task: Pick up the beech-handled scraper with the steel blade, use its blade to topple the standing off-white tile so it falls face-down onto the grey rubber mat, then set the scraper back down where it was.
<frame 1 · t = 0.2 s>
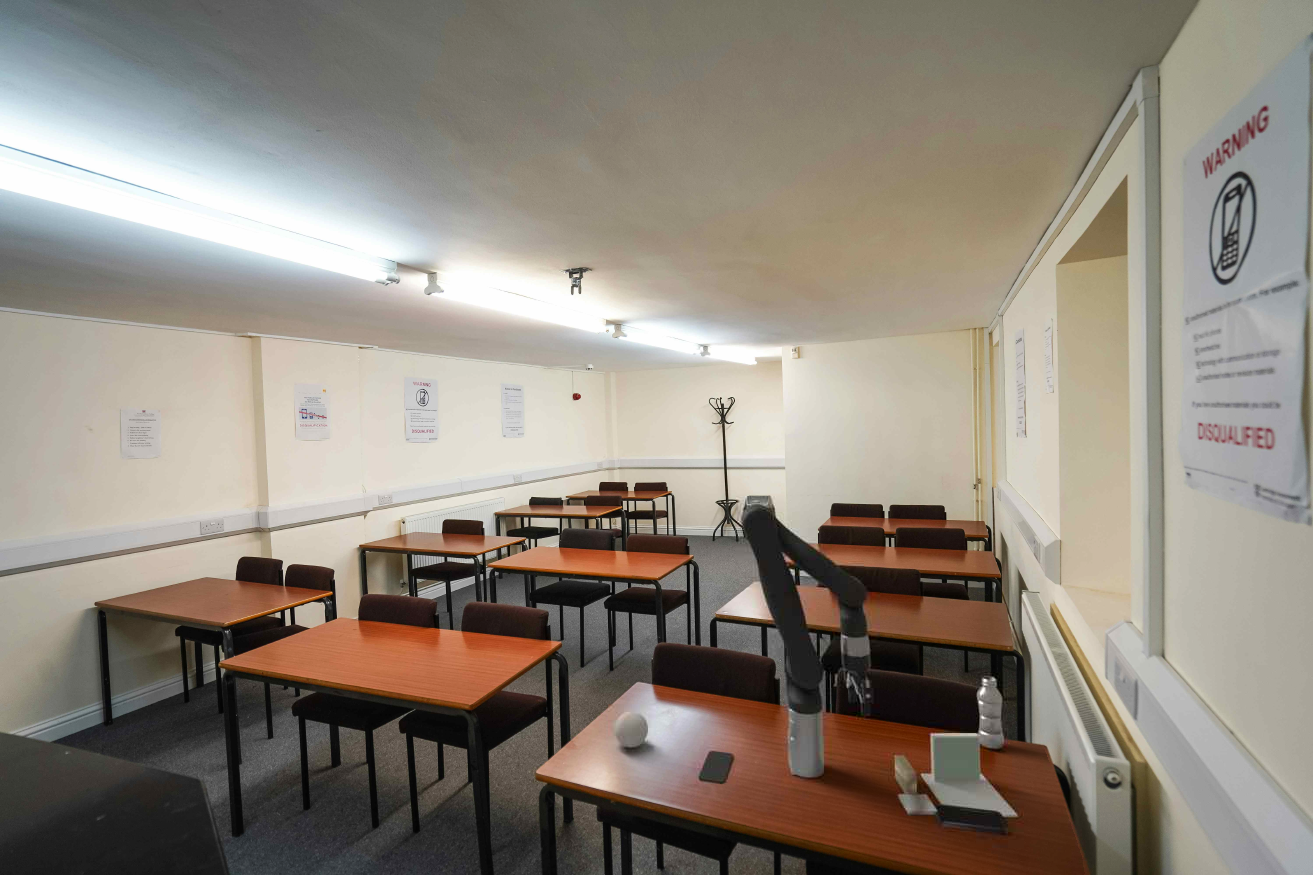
hand: (859, 708, 166), 17 cm above the table, tool pointing down, fingers open, 8 cm apart
plastic bottle: (991, 747, 177), on the table
phone: (716, 768, 170), on the table
phone 2: (970, 821, 144), on the table
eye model: (631, 746, 183), on the table
tile: (955, 779, 160), resting on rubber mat
scraper: (912, 797, 154), on the table
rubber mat: (966, 794, 154), on the table
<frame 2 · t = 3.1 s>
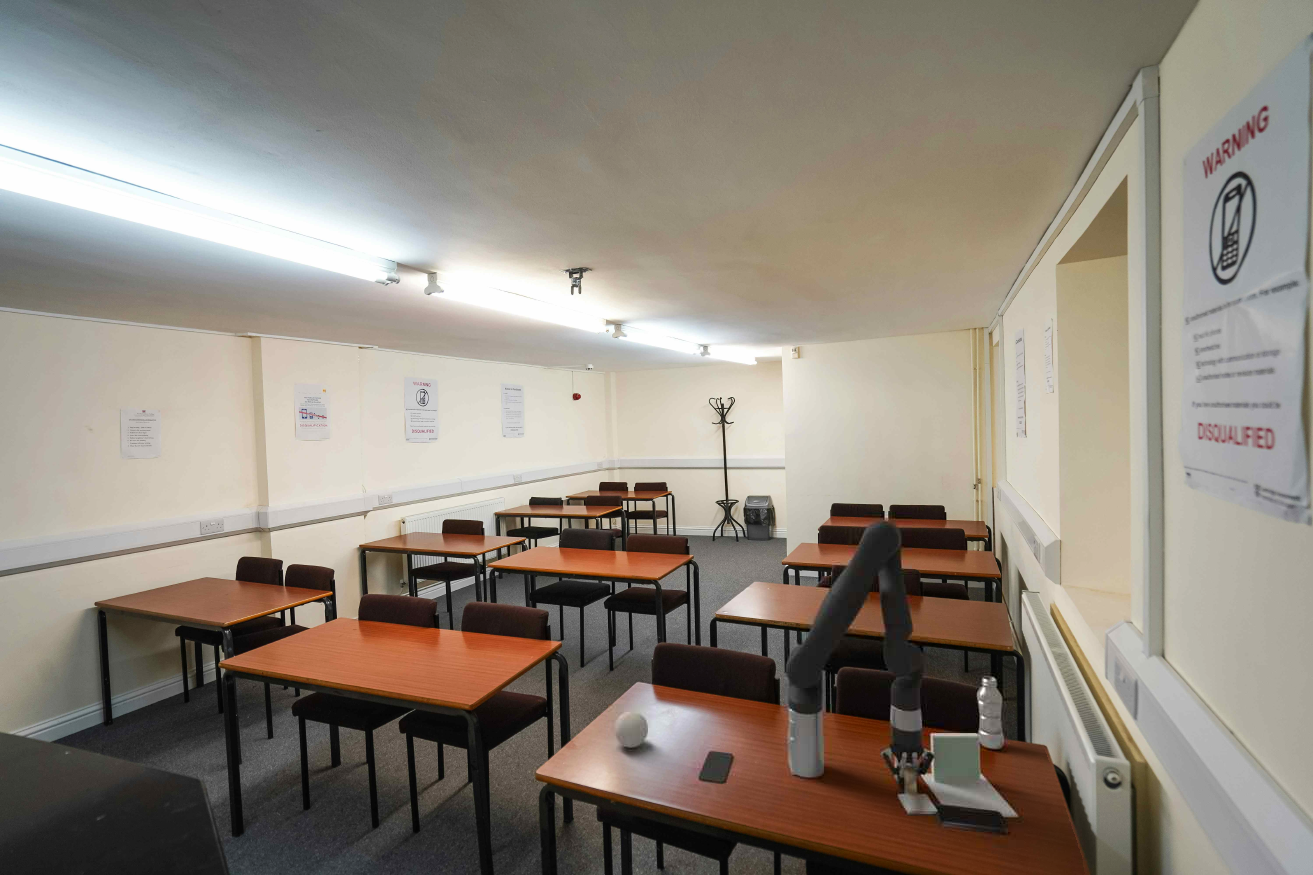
hand: (907, 788, 157), 0 cm above the table, tool pointing down, fingers closed on scraper
scraper: (912, 796, 154), on the table, touching gripper
everything else where it was.
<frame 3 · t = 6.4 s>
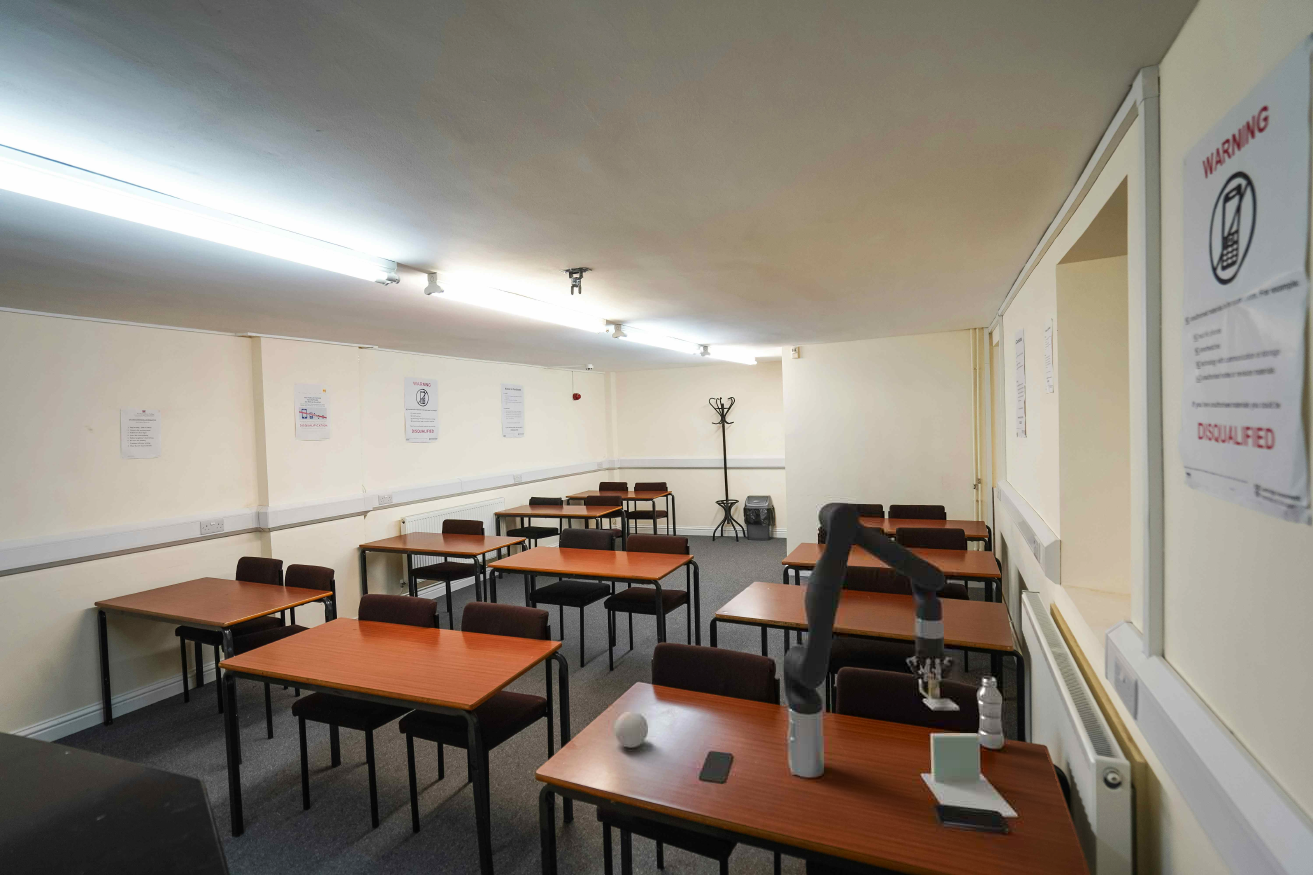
hand: (931, 692, 175), 17 cm above the table, tool pointing down, fingers closed on scraper
scraper: (935, 701, 172), point 16 cm above the table, tilted 6°, touching gripper
everything else where it was.
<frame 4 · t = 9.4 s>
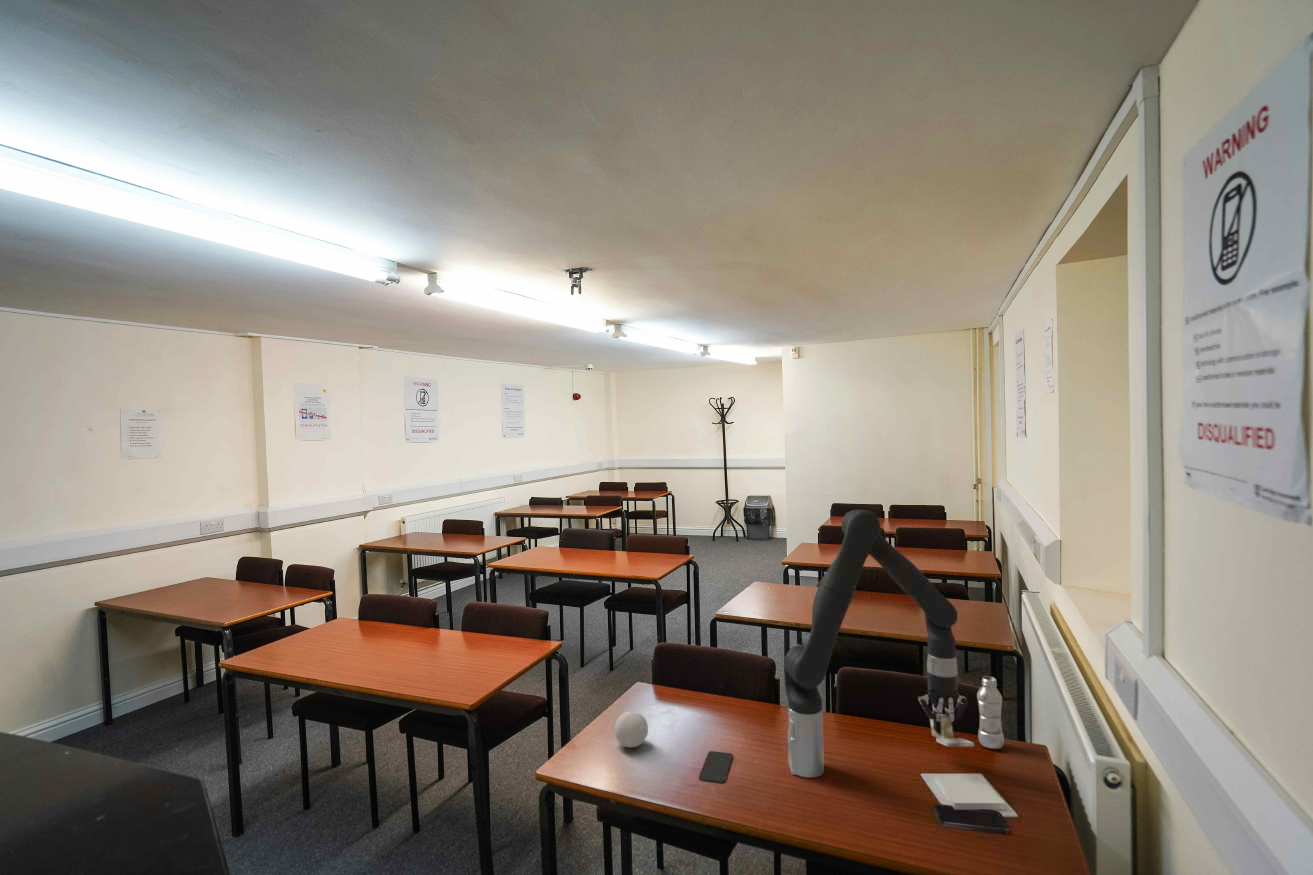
hand: (943, 732, 167), 10 cm above the table, tool pointing down, fingers closed on scraper
tile: (957, 778, 159), point 1 cm above the table, tilted 90°, touching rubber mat
scraper: (949, 741, 163), point 9 cm above the table, tilted 17°, touching gripper
everything else where it was.
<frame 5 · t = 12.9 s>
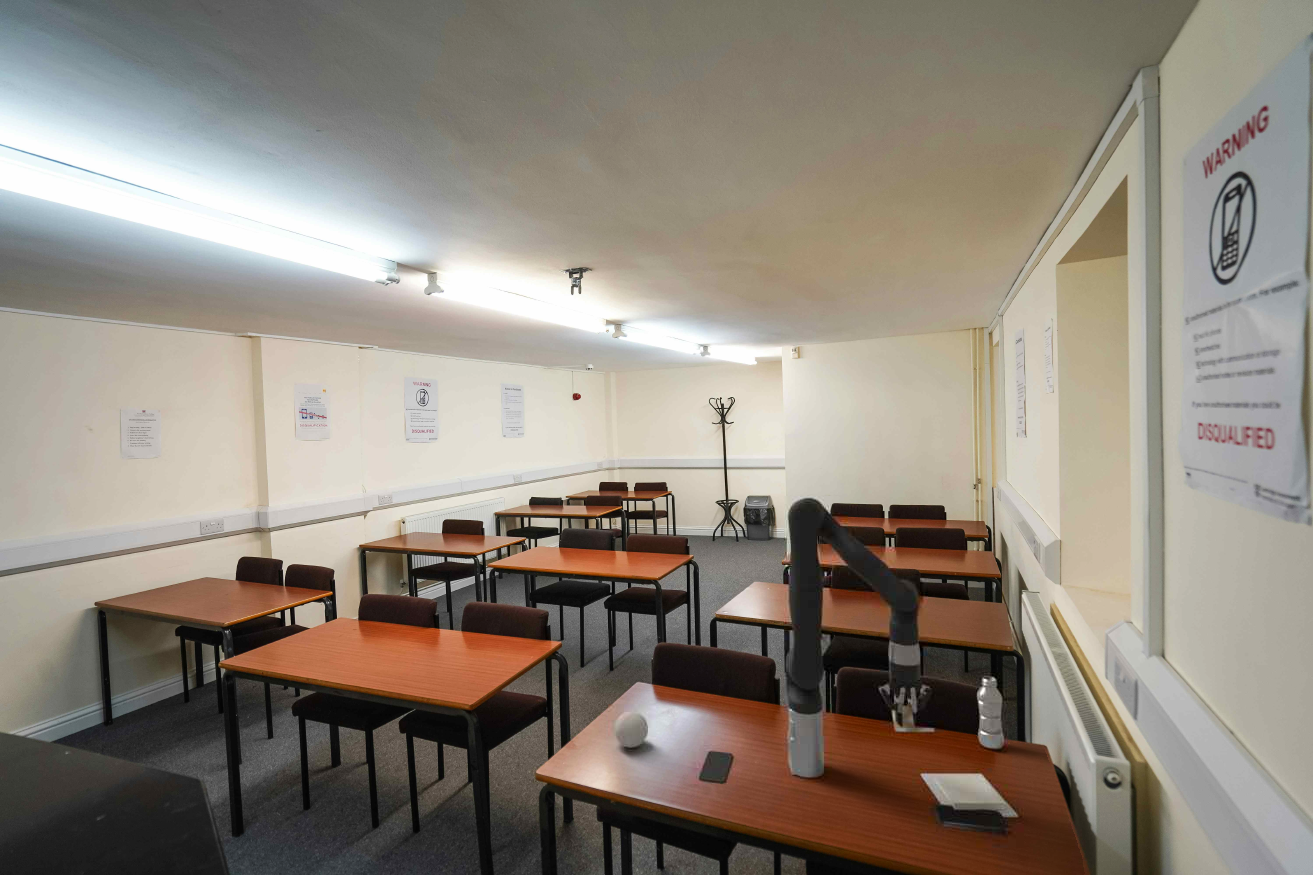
hand: (905, 724, 157), 17 cm above the table, tool pointing down, fingers closed on scraper
scraper: (910, 731, 154), point 17 cm above the table, tilted 25°, touching gripper
everything else where it was.
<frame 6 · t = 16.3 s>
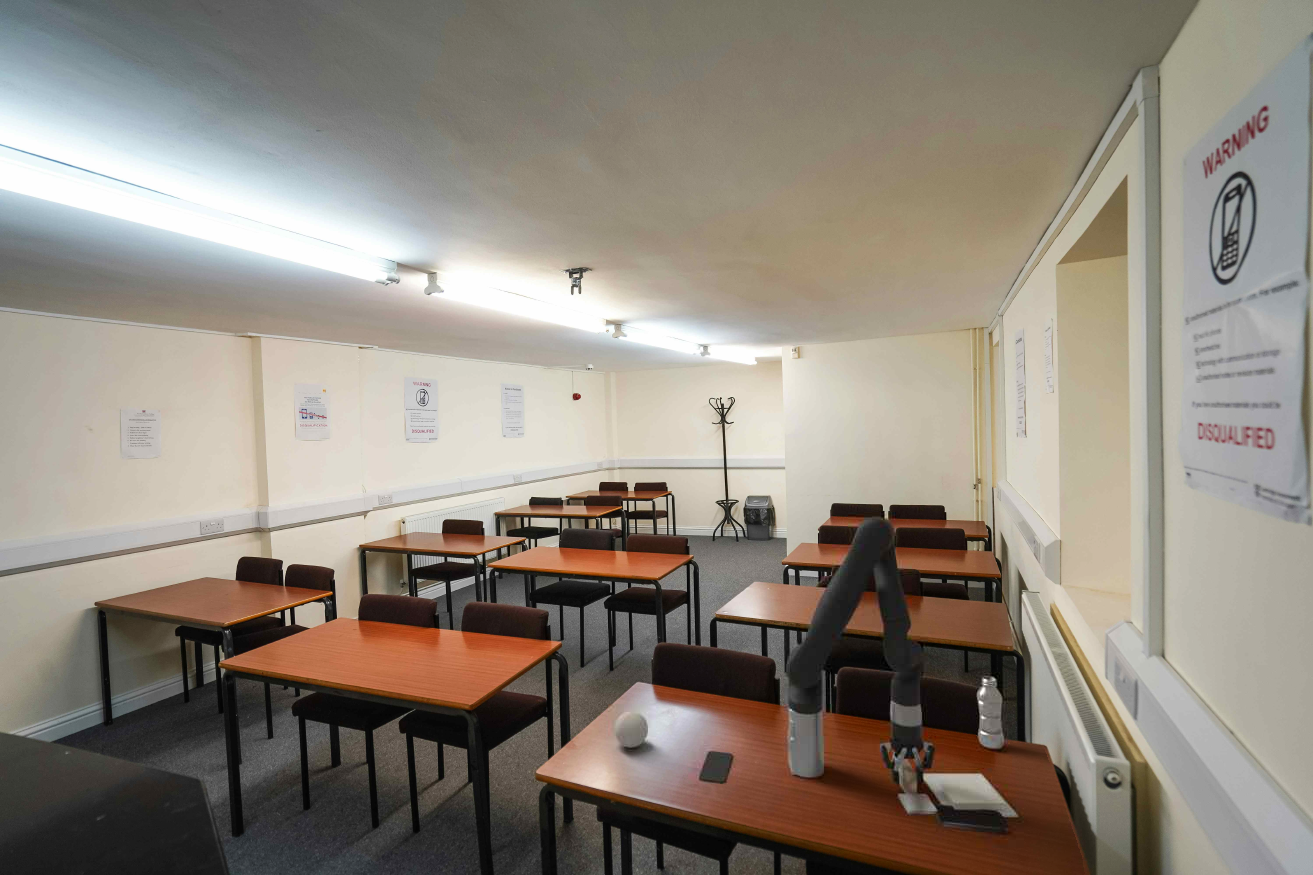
hand: (907, 783, 157), 2 cm above the table, tool pointing down, fingers open, 5 cm apart
scraper: (912, 796, 154), on the table
everything else where it was.
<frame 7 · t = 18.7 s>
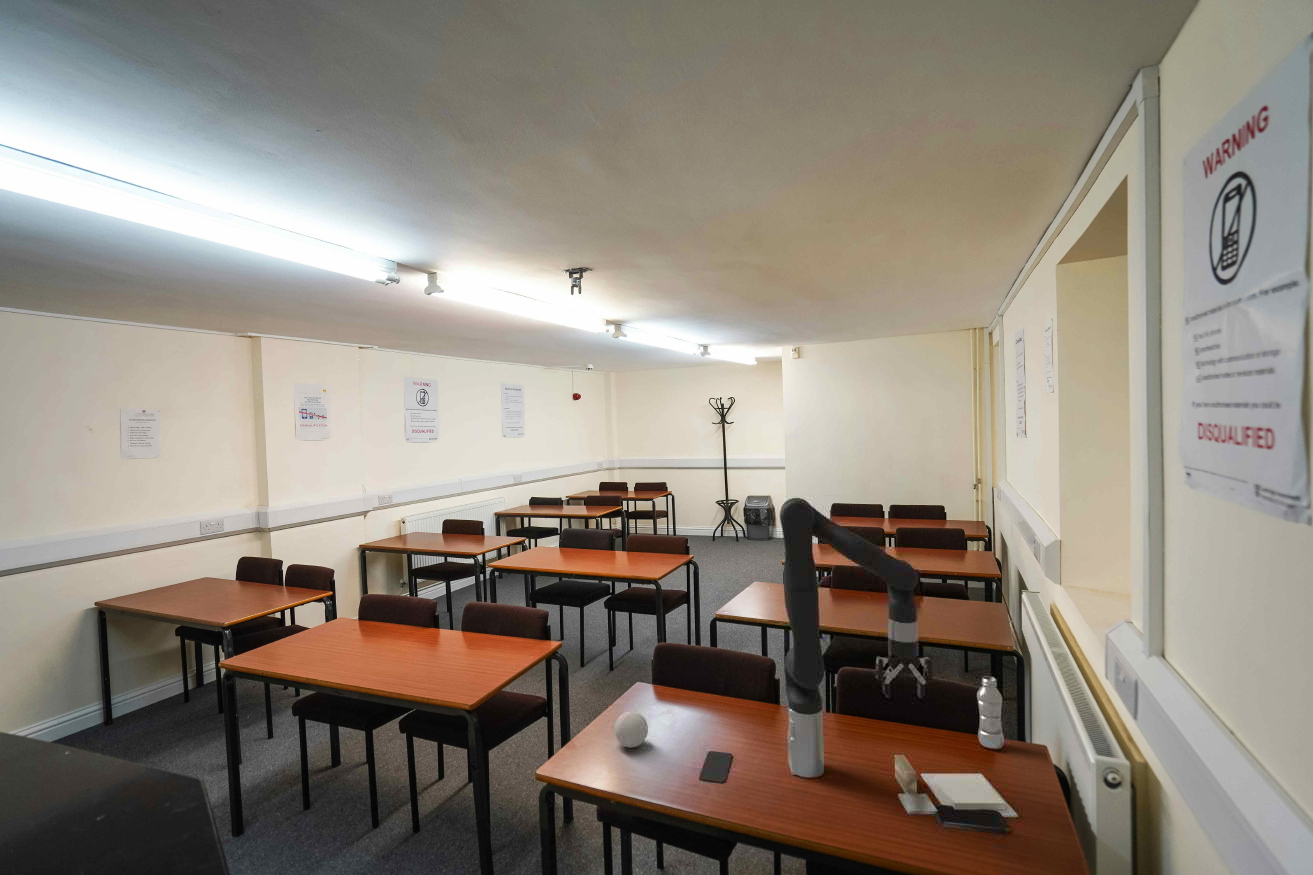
hand: (904, 696, 162), 22 cm above the table, tool pointing down, fingers open, 8 cm apart
nothing on the table moved.
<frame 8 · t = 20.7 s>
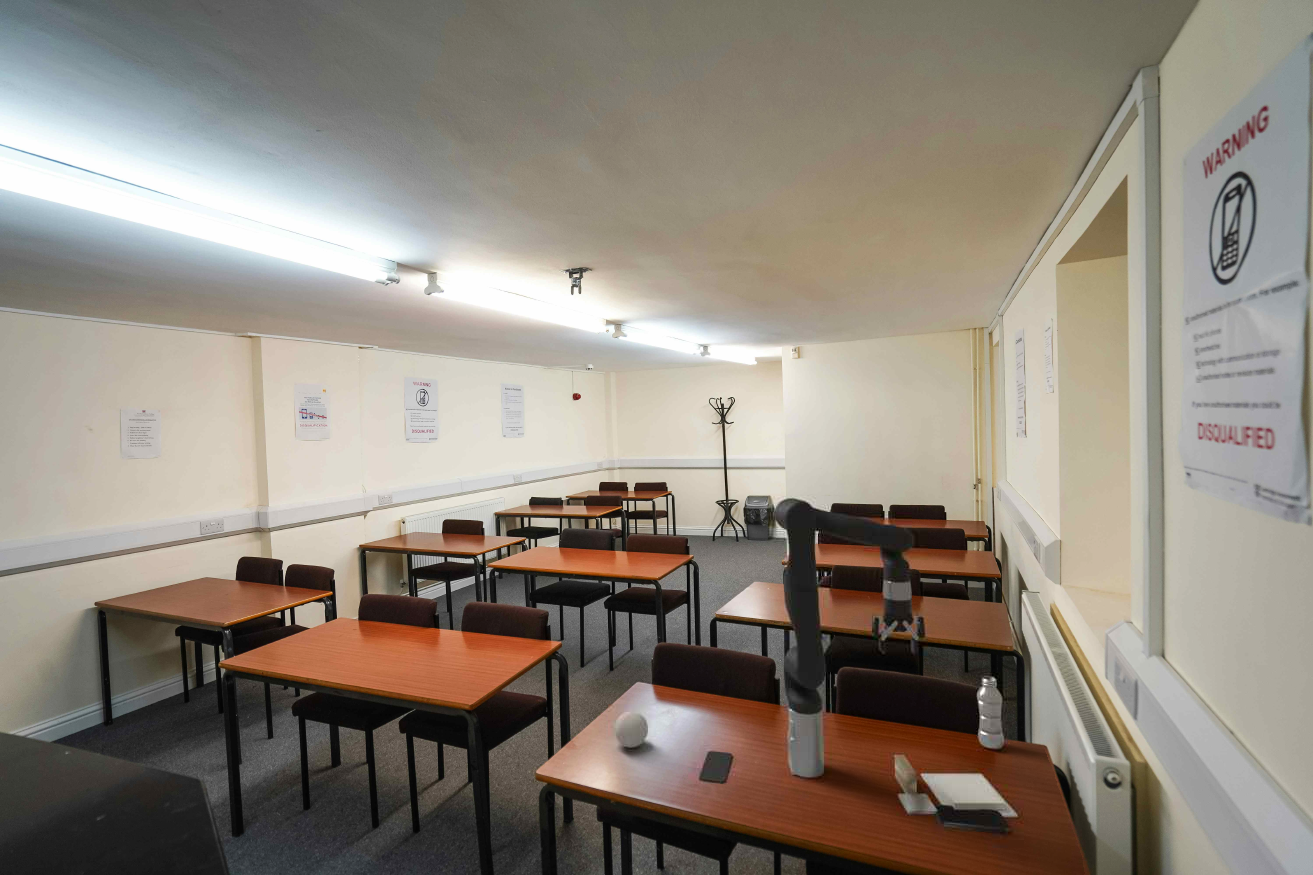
hand: (898, 652, 173), 30 cm above the table, tool pointing down, fingers open, 8 cm apart
nothing on the table moved.
at the end: tile tilted 90°; tile inside the target area (0.6 cm from its centre), point 1.4 cm above the table; scraper inside the target area (0.2 cm from its centre), on the table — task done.
